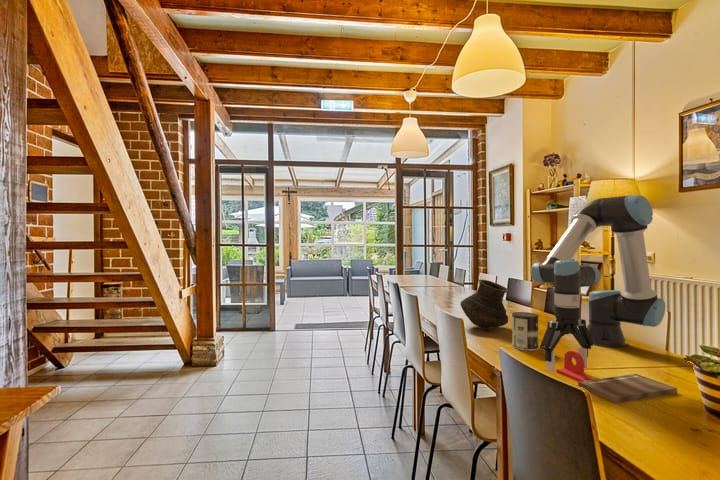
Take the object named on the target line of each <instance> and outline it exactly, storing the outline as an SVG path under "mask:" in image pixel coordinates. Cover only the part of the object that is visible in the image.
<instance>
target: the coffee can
mask: <svg viewBox="0 0 720 480" xmlns="http://www.w3.org/2000/svg"><path fill="white" fill-rule="evenodd" d="M511 316H512V317H511V318H512V320H511V321H512V322H511V325H512V326H511V327H512V329H511V330H512V335H511V336H512V339H511V340H512V341H511V342H512V348H514V349H517V350H521V351H524V352H525V351H526V352H534V351H538V350H539V349H540V347H539V314H537V313H533V312H525V311H518V312H517V311H516V312H515V311H514V312H512V313H511Z"/></svg>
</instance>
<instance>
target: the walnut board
mask: <svg viewBox="0 0 720 480" xmlns="http://www.w3.org/2000/svg"><path fill="white" fill-rule="evenodd" d="M594 379H595V378H594ZM577 383H578V384H577V385H578V386H580V387H583V388H585V389H587V390H588V391H587V390H586V391H587V392H590V393H591V394H594V395H595V396H597V397H600V398H602V399H605V400H607V401H609V402H611V403H613V404H621V403H626V402H633V401H637V400H638V401H639V400H646V399H649V398H650V399H651V398H656V397H663V396H667V395H673V394H674V395H675V394H678V388H677V387H674V386H673V385H670V384H667V383H663V382H661V381H658V380H655V379H652V378H649V377H646V376H643V375H641V374H638V373H632V374H631V373H630V374H626V375H625V374H624V375H618V376H610V377H605V378H604V377H603V378H597V379H595V380H588V381H581V382H578V381H577ZM578 386H577V387H578ZM580 387H579V388H580ZM585 389H584V390H585Z"/></svg>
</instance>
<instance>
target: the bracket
mask: <svg viewBox="0 0 720 480" xmlns="http://www.w3.org/2000/svg"><path fill="white" fill-rule="evenodd" d="M563 358H564V359H563V361H564V362H563V364H564V366H563V368H557V369H556V368H555V373H556V374H560V375H563V376H564V375H565V376H564V377H567V378H569V379H571V380H573V381H576V382H577V383H578V382H581V381H588V380H595V378H593V377H591V376H588V375H586V374H585V368H584V361H583V358H582V356H581V355H580V354H579V351H576V350H568V351H566V353H564V357H563ZM573 359H574V361H575V364H574V362H573V361H572V360H573Z"/></svg>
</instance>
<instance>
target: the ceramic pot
mask: <svg viewBox="0 0 720 480" xmlns="http://www.w3.org/2000/svg"><path fill="white" fill-rule="evenodd" d="M478 282H479V285H478V288H477V290H476V291H475V293H473V294H472V295H469V296H467V297H465V299H462V300H461V302H460V307H461V309H462V311H463V313H464V315H465V316H466V317H467V318H468V319H469V320H470V322H471V323H472V324H473V325H474V326H477V327H479V328H482V329H492V328H499V327H503V326H505V325H507V324H508V322H509V316H508V314H507V309H506V308H505V306H504V302H503V299H504V296H505V294H506V293H509V289H508V288H507V287H506V286H504V285H501V284H499V283H496V282H493V281H490V280H487V279H478Z"/></svg>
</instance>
